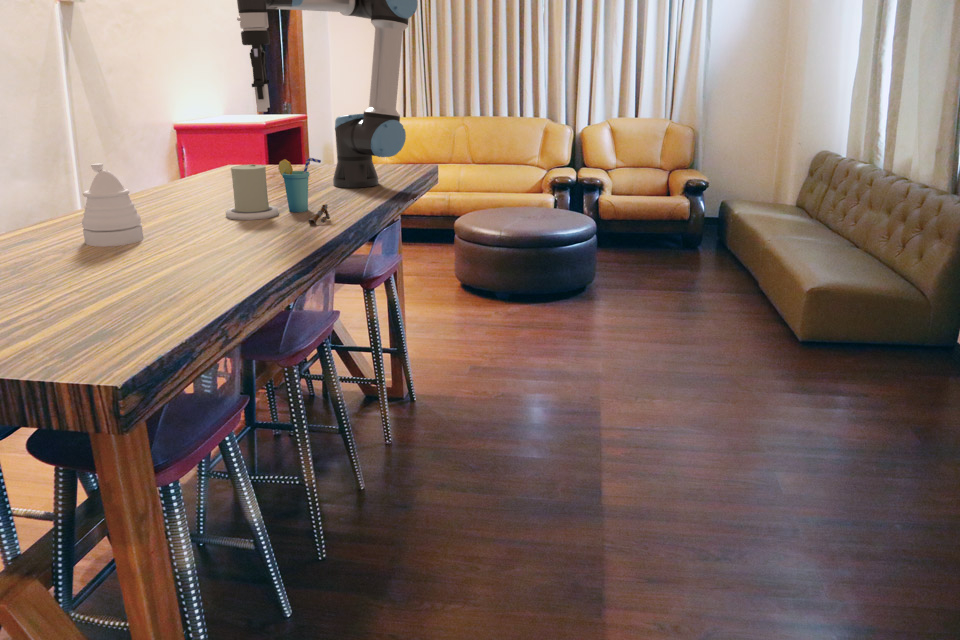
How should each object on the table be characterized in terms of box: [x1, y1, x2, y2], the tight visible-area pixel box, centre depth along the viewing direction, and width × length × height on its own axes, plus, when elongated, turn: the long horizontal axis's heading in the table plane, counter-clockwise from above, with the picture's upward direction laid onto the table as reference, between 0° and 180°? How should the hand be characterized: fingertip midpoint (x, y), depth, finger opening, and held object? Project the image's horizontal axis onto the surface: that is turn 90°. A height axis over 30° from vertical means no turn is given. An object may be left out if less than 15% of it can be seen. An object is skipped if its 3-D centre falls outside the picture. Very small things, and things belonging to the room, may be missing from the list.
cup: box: [278, 157, 322, 213], centre depth 226 cm, size 14×8×15 cm, turn 73°
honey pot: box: [81, 163, 144, 248], centre depth 190 cm, size 13×13×18 cm
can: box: [230, 163, 270, 212], centre depth 220 cm, size 9×9×12 cm
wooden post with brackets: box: [307, 203, 331, 226], centre depth 212 cm, size 2×8×4 cm, turn 157°
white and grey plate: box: [225, 205, 280, 221], centre depth 222 cm, size 14×14×2 cm
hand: (263, 109), depth 228 cm, fingers open, 13 cm apart
